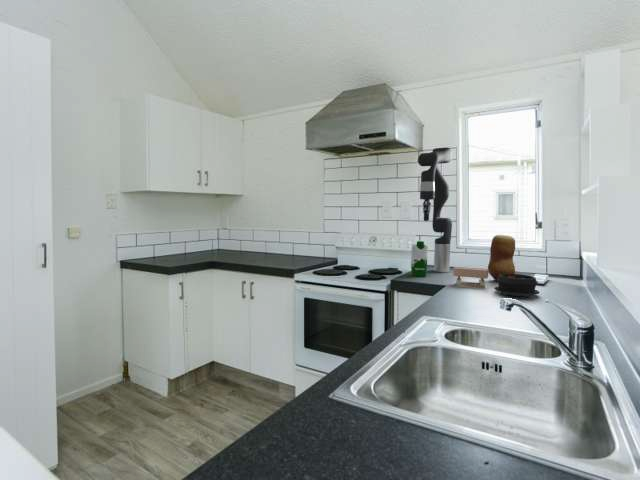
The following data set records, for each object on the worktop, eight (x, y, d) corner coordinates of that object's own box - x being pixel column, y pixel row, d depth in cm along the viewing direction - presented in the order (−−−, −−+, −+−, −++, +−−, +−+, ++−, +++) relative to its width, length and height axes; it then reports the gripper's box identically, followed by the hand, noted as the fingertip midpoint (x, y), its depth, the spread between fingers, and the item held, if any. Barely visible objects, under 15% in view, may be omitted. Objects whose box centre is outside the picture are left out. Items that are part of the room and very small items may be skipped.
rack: (456, 282, 208) (456, 274, 207) (483, 284, 203) (483, 275, 203) (456, 286, 198) (457, 277, 198) (484, 288, 194) (485, 279, 194)
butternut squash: (517, 284, 206) (519, 236, 204) (489, 282, 208) (492, 235, 206) (510, 279, 219) (512, 234, 217) (484, 278, 222) (486, 233, 220)
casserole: (493, 287, 196) (493, 270, 195) (535, 291, 189) (536, 273, 188) (494, 298, 172) (495, 279, 172) (543, 302, 166) (544, 282, 165)
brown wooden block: (454, 274, 206) (455, 267, 206) (487, 277, 198) (488, 269, 198) (453, 275, 202) (453, 268, 202) (487, 278, 195) (487, 270, 195)
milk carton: (412, 276, 225) (413, 241, 224) (410, 274, 234) (411, 240, 232) (427, 277, 224) (429, 242, 223) (425, 274, 233) (426, 240, 232)
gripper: (421, 191, 221) (420, 220, 222) (419, 189, 207) (418, 220, 208) (435, 191, 218) (434, 220, 220) (434, 189, 205) (432, 221, 206)
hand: (426, 220), depth 214 cm, fingers open, 8 cm apart
